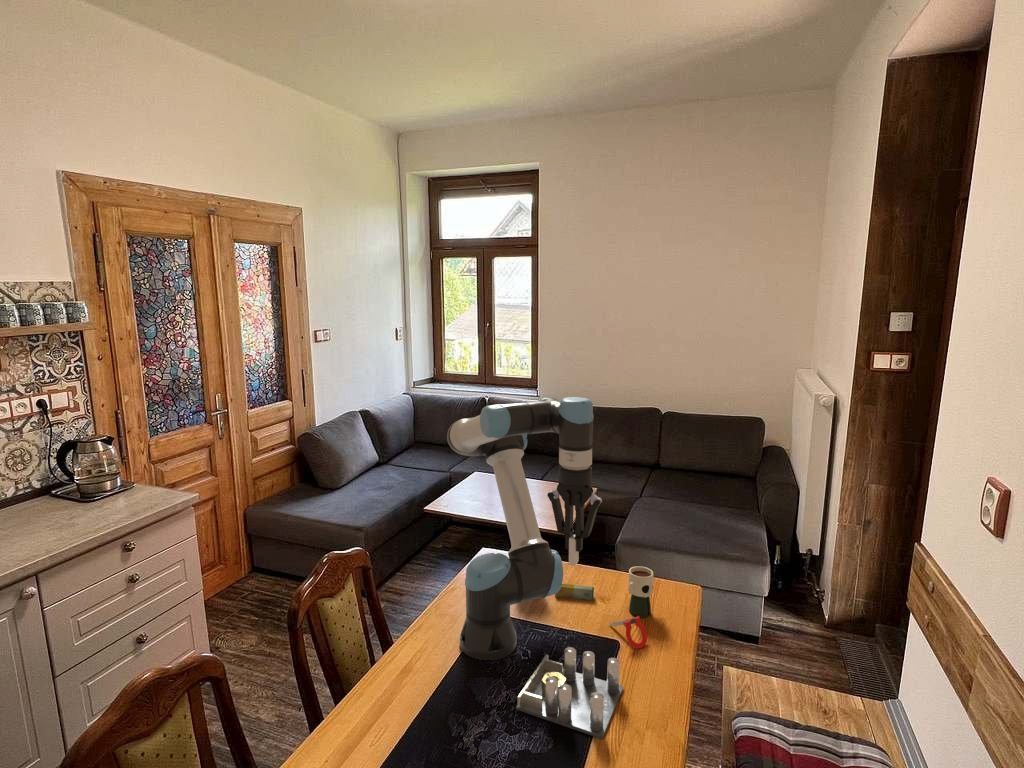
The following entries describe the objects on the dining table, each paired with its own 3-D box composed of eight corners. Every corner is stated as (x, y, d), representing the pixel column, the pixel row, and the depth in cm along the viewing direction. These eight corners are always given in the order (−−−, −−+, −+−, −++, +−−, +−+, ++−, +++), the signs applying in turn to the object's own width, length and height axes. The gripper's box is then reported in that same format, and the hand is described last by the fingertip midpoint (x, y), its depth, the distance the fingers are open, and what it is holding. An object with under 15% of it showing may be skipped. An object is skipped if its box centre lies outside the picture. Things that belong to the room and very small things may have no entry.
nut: (539, 695, 129) (539, 683, 129) (548, 680, 134) (548, 669, 134) (559, 702, 127) (559, 690, 127) (568, 686, 132) (568, 675, 132)
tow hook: (633, 651, 146) (623, 622, 148) (609, 653, 154) (600, 626, 156) (651, 643, 149) (641, 614, 152) (627, 645, 157) (618, 618, 160)
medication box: (593, 599, 173) (594, 586, 173) (593, 602, 171) (594, 590, 170) (555, 594, 175) (555, 582, 175) (554, 598, 172) (554, 585, 172)
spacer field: (516, 709, 126) (516, 677, 125) (545, 665, 141) (545, 637, 140) (602, 739, 117) (603, 705, 116) (623, 689, 132) (624, 659, 131)
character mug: (639, 625, 159) (640, 582, 157) (618, 615, 164) (619, 573, 162) (660, 611, 166) (662, 570, 164) (640, 601, 171) (641, 561, 169)
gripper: (542, 466, 127) (541, 564, 130) (598, 473, 121) (595, 575, 125) (554, 457, 134) (553, 551, 137) (607, 464, 128) (605, 561, 131)
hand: (573, 562), depth 131 cm, fingers closed
